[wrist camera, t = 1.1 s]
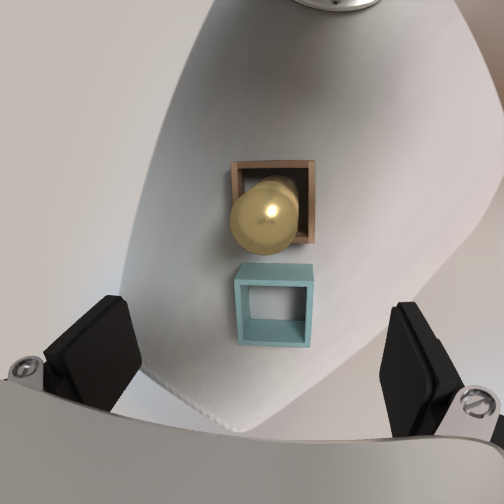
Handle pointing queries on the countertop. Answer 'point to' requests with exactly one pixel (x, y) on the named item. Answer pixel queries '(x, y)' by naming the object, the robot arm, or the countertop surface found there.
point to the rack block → (273, 330)
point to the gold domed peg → (266, 216)
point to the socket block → (238, 167)
